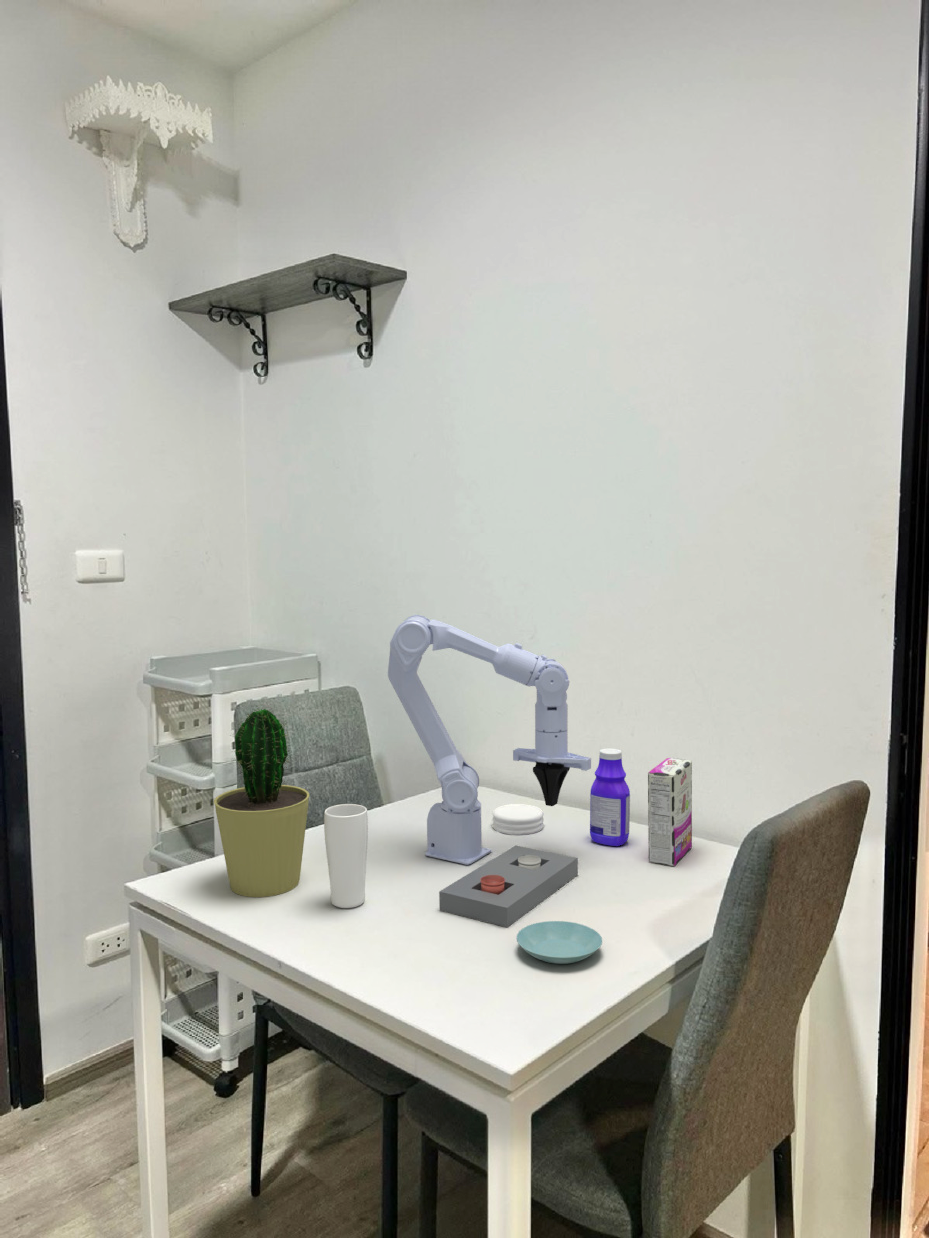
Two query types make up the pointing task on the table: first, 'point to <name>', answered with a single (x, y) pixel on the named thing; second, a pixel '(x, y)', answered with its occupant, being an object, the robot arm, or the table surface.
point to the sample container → (529, 862)
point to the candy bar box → (670, 811)
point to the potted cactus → (262, 813)
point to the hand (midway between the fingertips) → (551, 804)
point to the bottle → (610, 800)
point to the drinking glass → (346, 853)
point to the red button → (492, 884)
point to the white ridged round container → (518, 819)
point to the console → (508, 886)
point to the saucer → (559, 941)
